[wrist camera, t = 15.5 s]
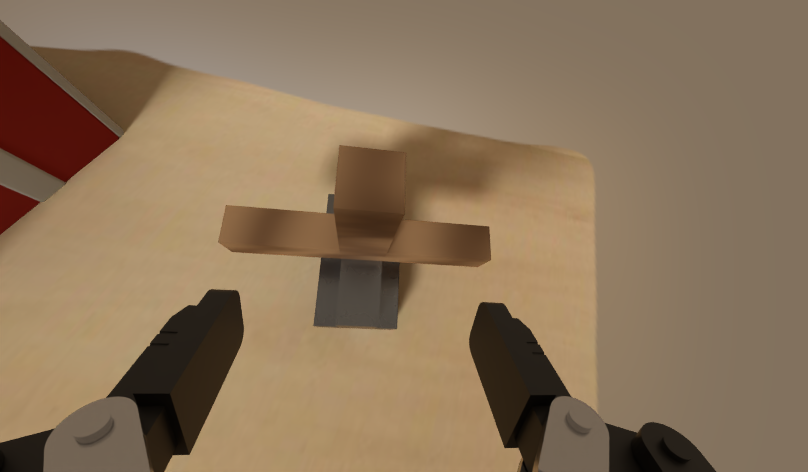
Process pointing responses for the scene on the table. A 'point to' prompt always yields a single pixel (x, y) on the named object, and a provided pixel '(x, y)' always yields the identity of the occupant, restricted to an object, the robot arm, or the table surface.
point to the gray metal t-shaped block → (356, 292)
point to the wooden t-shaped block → (358, 221)
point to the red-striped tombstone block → (42, 129)
